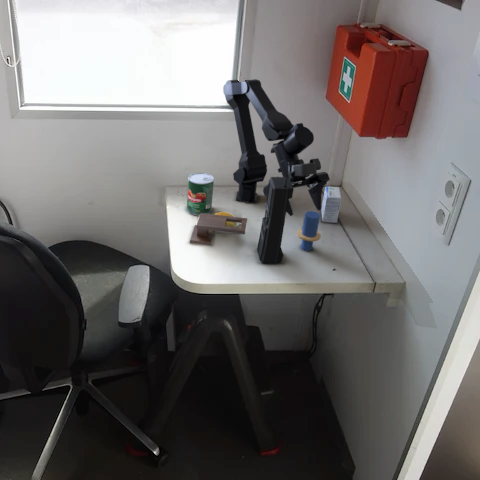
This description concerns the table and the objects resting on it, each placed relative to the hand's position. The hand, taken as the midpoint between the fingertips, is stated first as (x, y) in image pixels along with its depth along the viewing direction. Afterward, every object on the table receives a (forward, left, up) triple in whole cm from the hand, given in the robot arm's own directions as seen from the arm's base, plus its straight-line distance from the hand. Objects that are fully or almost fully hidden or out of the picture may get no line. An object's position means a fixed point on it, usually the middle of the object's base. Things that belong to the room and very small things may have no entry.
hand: (305, 212), depth 149 cm
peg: (+2, +2, -10) cm, 10 cm away
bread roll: (-3, -23, -8) cm, 25 cm away
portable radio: (+9, -9, -10) cm, 16 cm away
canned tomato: (-13, -31, -10) cm, 35 cm away
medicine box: (-18, +9, -10) cm, 22 cm away
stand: (+3, -23, -10) cm, 26 cm away
